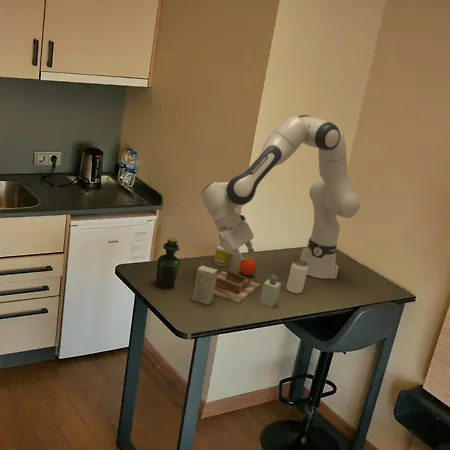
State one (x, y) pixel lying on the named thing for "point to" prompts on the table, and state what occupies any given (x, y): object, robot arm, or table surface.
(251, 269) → the clementine
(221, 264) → the supplement bottle
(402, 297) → the table surface
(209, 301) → the skincare box
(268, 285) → the sage bottle
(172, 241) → the potion bottle
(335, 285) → the table surface
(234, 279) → the u rest
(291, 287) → the can
